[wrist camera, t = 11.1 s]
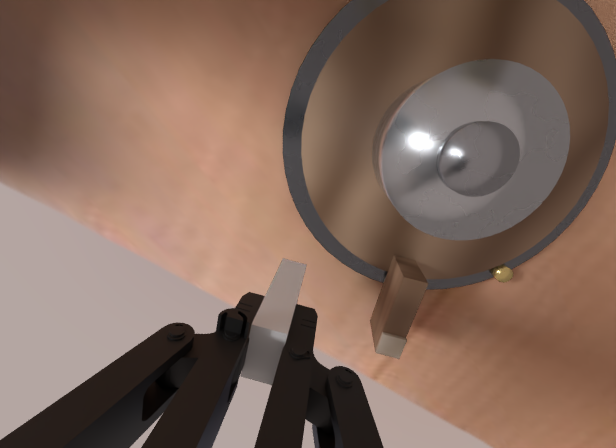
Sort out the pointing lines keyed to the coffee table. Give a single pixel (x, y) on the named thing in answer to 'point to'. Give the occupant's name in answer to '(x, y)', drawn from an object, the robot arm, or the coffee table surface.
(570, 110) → the platter
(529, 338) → the coffee table surface
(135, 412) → the robot arm
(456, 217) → the cover
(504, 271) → the susan base
